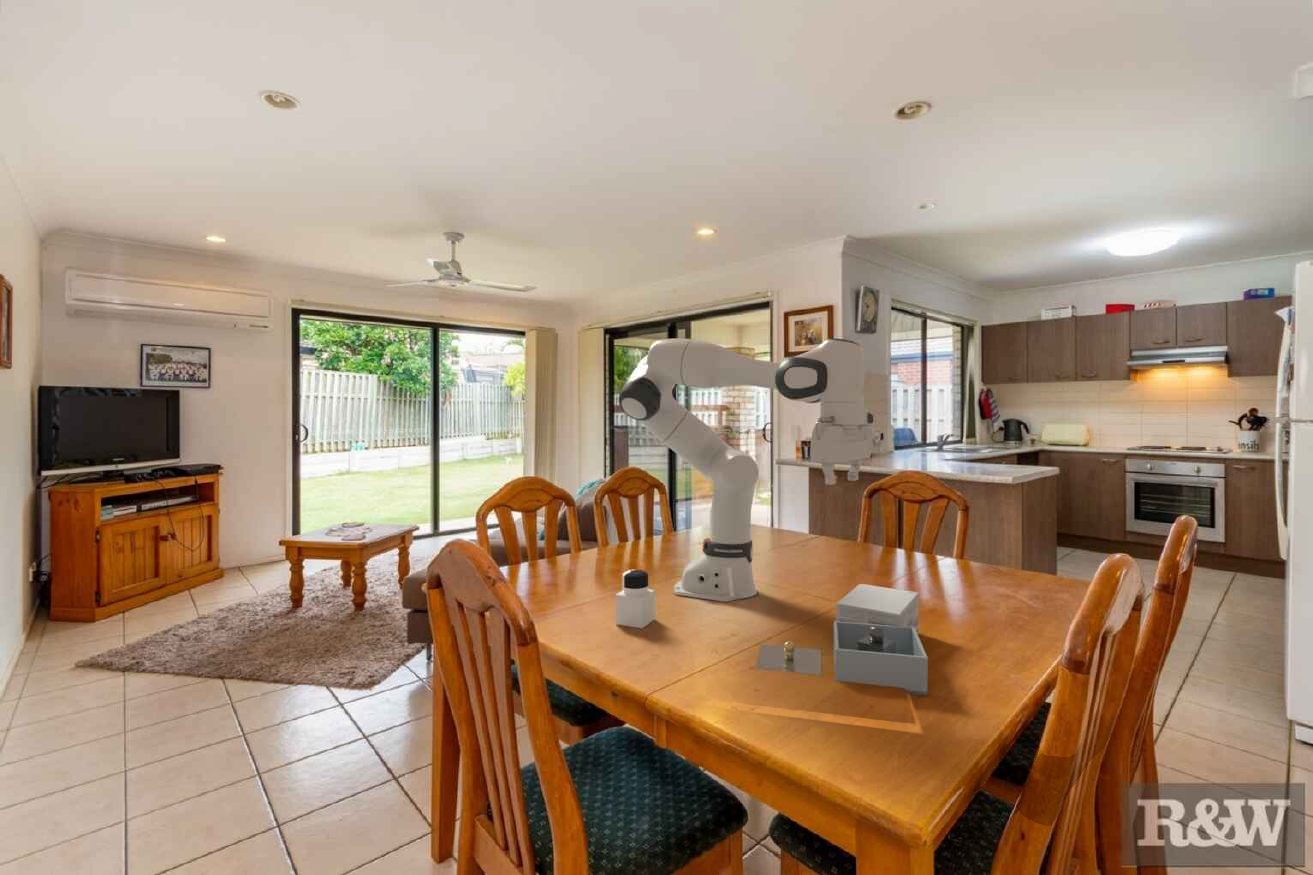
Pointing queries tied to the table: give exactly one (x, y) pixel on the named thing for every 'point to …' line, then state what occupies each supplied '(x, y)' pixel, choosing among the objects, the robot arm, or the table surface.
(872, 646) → the strut socket
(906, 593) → the supplement box
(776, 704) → the table surface
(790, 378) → the robot arm
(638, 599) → the medicine bottle
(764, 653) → the stud base
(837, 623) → the bin
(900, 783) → the table surface
